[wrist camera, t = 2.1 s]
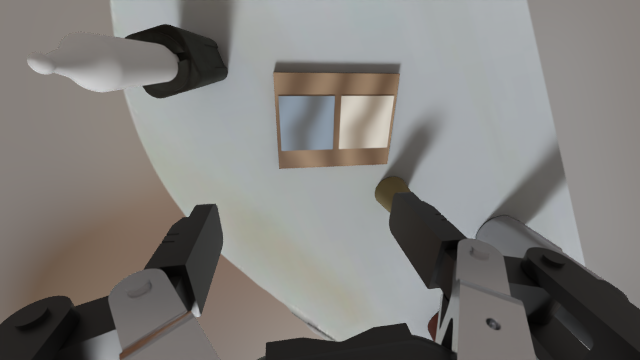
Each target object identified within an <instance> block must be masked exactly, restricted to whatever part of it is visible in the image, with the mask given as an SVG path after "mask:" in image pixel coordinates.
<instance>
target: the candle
mask: <svg viewBox="0 0 640 360" xmlns="http://www.w3.org/2000/svg"><path fill="white" fill-rule="evenodd" d="M217 48H218V46H217V44H216V43H215V42H214V41H213V40H211V39H209V38H206V37H203V36H200V35H197V34H194V33H191V32H189V31H186V30H183V29H180V28H177V27H174V26H171V25H167V24H164V25H160V26H156V27H153V28H150V29H147V30H144V31H141V32H137V33H134V34H131V35H129V36H127V37H125V38H119V37H112V36H106V35H100V34H94V33H86V32H75V33H71V34H69V35H67V36H65V37H64V38H63V39H62V40H61V41H60V44H59V47H58V49H56V50H54V51H51V52H49V53H47V54H43V53H41V52H33V53H31V54H29V55H28V57H27V62H28V64H29V66H30V67H31V68H32V69H33V70H34V71H36V72H38V73H41V74H51V73H53V72H54V73H57V74H60V75H63V76H67V77H69V78H71V79H72V80H73V81H74V82H76V83H77V84H78V85H80V86H82V87H84V88H86V89H89V90H92V91H97V92H107V91H113V90H119V89H126V88H132V87H138V86H143V88H144V89H145V91H146V92H147V93H148V94H149V95H151V96H153V97H156V98H166V97H169V96H172V95H176V94H179V93H182V92H186V91H189V90H192V89H196V88H199V87H202V86H206V85H209V84H212V83H215V82H218V81H221V80H224V79H225V78H226V77H227V74H228V71H227V68H226V67H225V66H224V64H223V62H222V59H221V57H220V55H219V52H218V50H217Z"/></svg>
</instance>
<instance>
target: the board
mask: <svg viewBox="0 0 640 360" xmlns="http://www.w3.org/2000/svg"><path fill="white" fill-rule="evenodd" d="M273 74H274V91H275V107H276V123H277V139H278V155H279V169H283V168H307V167H330V166H353V165H376V164H387V161H388V154H389V147H390V140H391V133H392V126H393V118H394V111H395V104H396V97H397V90H398V83H399V76H400V74H390V73H293V72H273Z"/></svg>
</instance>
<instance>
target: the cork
mask: <svg viewBox="0 0 640 360" xmlns="http://www.w3.org/2000/svg"><path fill="white" fill-rule="evenodd" d="M399 192H411V191H410V189H409V188H408V187H407V185H406V184H405V182H404V181H403V180H402V179H401V178H399V177H388V178H386V179H384V180H382V181H381V182H380V183H379V184H378V186H377V187H376V190H375V198H376V200H377V201H378V202H379V203H380V204H381V205H382V206H383V207H384V208H385V209H386V210H387V211H389V212H390V213H391V206H392V200H393V196H394V194H395V193H399Z"/></svg>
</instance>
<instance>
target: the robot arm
mask: <svg viewBox="0 0 640 360" xmlns="http://www.w3.org/2000/svg"><path fill="white" fill-rule="evenodd" d="M389 227H390V231H391V233H392V235H393V236H394V238H395V239H396V241H397V242H398V244H399V245H400V247H401V248H402V250H403V251H404V253H405V255H406V256H407V258H408V259H409V261H410V262H411V264H412V265H413V267H414V268H415V270H416V271H417V273H418V274H419V276H420V277H421V279H422V280H423V282H424V284H425V285H426V287H427V288H428V289H433V288H441V290H442V291H443V292H442V295H441V299H440V308H439V316H438V324H437V333H436V340H435V342H434V341H432V340H429V339H426V338H424V337H420V336H416V335H411V332H410V330H409V328H408V326H407V324H406V323H401V324H394V325H387V326H380V327H373V328H371V329H369V330H367V331H365V332H362V333H360V334H358V335H356V336H354V337H351V338H349V339H347V340H345V341H342V342H335V341H327V340H319V339H311V338H296V339H288V340H282V341H274V342H267V343H266V356H264V357H261V358H259V359H258V360H536V357H535V355H536V356H537V357H538V359H539V360H640V309H639V308H637V307H636V306H634V305H633V304H632V303H630V302H629V300H628V298H627V297H626V295H625V294H624V293H623V292H622V291H620V290H619V289H618V288H616V287H615V286H613V285H612V284H610V283H609V282H607V281H605V280H604V279H602V278H601V277H599V276H598V275H596V274H595V273H593V272H592V271H590V270H589V269H587V268H586V267H584V266H583V265H581V264H580V263H578V262H577V261H575V260H574V259H572V258H571V257H569V256H568V255H566V254H565V253H563V252H562V249H561V248H560V247H558V246H557V245H555V244H554V243H552V242H551V241H549V240H548V239H546V238H544V237H543V236H541V235H540V234H538V233H537V232H535V231H534V230H532V229H531V228H529V227H528V226H526V225H525V224H523V223H522V222H520V221H519V220H514V219H513V218H511V217H509V216H498V217H495V218H493V219H491V220H489V221H488V222H486V223H485V224H484V225H483V226H482V227H481V228H480V230H479V231H478V233H477V236H476V239H468V238H466V237H465V236H464V235H463V234H462V233H461V232H460V231H459V230H458V229H457V228H456V227H455V226H454V225H453V224H452V223H450V222H449V221H447V219H446V218H445V217H444V216H443V215H441V213H440V212H439V211H438V210H437V209H435V208H434V207H433V206H431V205H429V204H428V203H426V202H424V201H421V200H420V199H419V198H418V197H417V196H416V195H415V194H414V193H413V192H399V193H395V194H394V196H393V200H392V206H391V213H390V219H389ZM222 246H223V233H222V228H221V223H220V218H219V213H218V208H217V205H216V204H203V205H196V206H195V207H194V209H193V211H192V212H191V214H190V216H189V217H184V218H182V219H180V220H179V221H178V222H176V223H175V224H174V225H172V227H171V228H170V230H169V231H168V233H167V236H165V238H164V240H163V241H162V244H160V246H159V247H158V248H157V250H156V251H155V253H154V254H153V256H152V258H151V259H150V260H149V262H148V263H147V265H146V266H145V268H144V270H142V271H138V272H136V273H133V274H131V275H129V276H128V277H126V278H124V279H123V280H122V281H121V282H119V283H118V284H117V285H116V286H115V287H114V288H113V289H112V291H111V292H110V295H109V296H106V297H103V298H100V299H97V300H93V301H91V302H87V303H84V304H81V305H78V306H74V304H73V303H72V301H71V300H70V298H68V297H66V296H53V297H48V298H45V299H42V300H39V301H36V302H34V303H32V304H30V305H27V306H26V307H24V308H22V309H20V310H19V311H17V312H15V313H14V314H12V315H11V316H10V317H8V318H7V319H6V320H5V321H3V322H2V323H1V324H0V360H220V358H219V356H218V355H217V353H216V351H215V349H214V348H213V346H212V344H211V343H210V341H209V340H208V338H207V337H206V335H205V333H204V331H203V329H202V328H201V326H200V324H199V323H198V321H197V319H196V318H195V317H198V316H201V314H202V311H203V307H204V304H205V301H206V298H207V295H208V291H209V288H210V285H211V282H212V278H213V275H214V272H215V269H216V266H217V262H218V259H219V256H220V253H221V250H222ZM571 332H572V333H573V334H574V335H575V336H576V337H577V338H578V339H579V340H580V341H582V342H583V343H584V344H585V345H586V346H587V347H588V348H589V349H590V350H589V349H587V347H586V346H584V345H583V344H582V343H581V342H580V341H579V340H578V339H577V338H576V337H575V336H574V335H573V334H572V333H571Z"/></svg>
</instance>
